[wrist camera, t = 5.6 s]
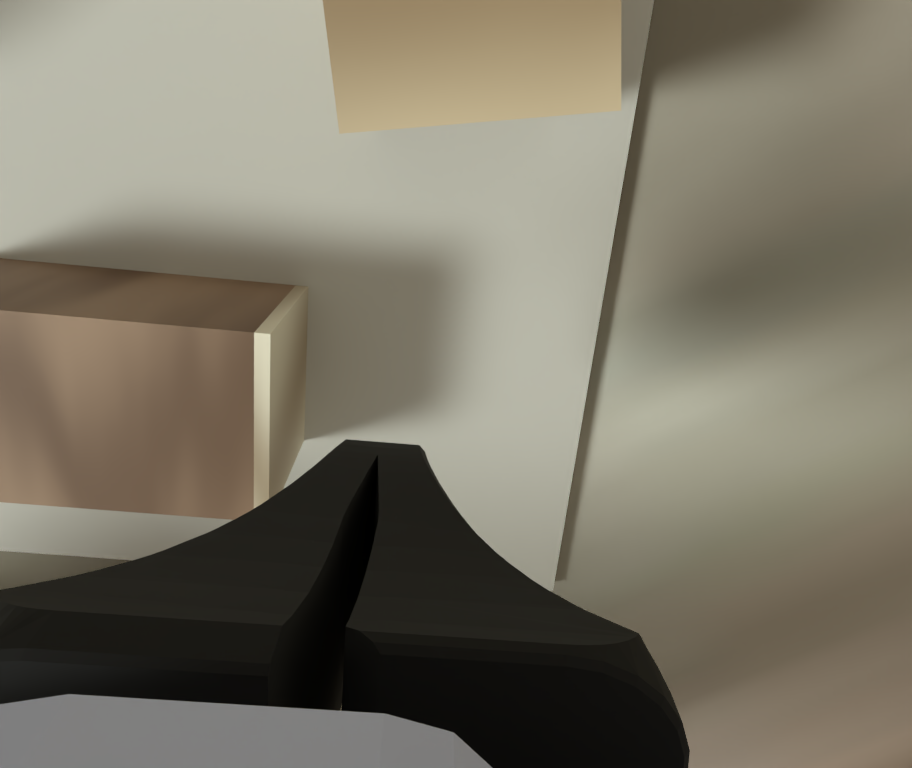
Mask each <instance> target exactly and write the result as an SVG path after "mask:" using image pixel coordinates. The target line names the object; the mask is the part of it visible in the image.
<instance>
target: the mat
mask: <svg viewBox="0 0 912 768" xmlns="http://www.w3.org/2000/svg"><path fill="white" fill-rule="evenodd" d="M653 5H654V0H621V111H610V112H598V113H586V114H574V115H562V116H549V117H537V118H525V119H513V120H501V121H489V122H476V123H464V124H452V125H440V126H428V127H416V128H403V129H391V130H379V131H367V132H355V133H343V134H339V127H338V119H337V111H336V103H335V95H334V87H333V79H332V71H331V63H330V55H329V47H328V39H327V31H326V23H325V15H324V7H323V0H0V258H4V259H15V260H26V261H37V262H47V263H58V264H69V265H80V266H91V267H102V268H113V269H124V270H135V271H145V272H156V273H167V274H178V275H189V276H200V277H211V278H222V279H233V280H243V281H254V282H265V283H276V284H287V285H298V286H308V321H307V357H306V393H305V429H304V442H303V444H302V446H301V449H300V451H299V453H298V456H297V458H296V460H295V463H294V465H293V467H292V470H291V472H290V474H289V476H288V479H287V481H286V483H285V486H284V488H286V487H287V486H289V485H290V484H292V483H293V482H294V481H295V480H297V479H298V478H299V477H301V476H302V475H303V474H304V473H306V472H307V471H308V470H309V469H311V468H312V467H313V466H314V465H315V464H317V463H318V462H319V461H320V460H321V459H323V458H324V457H325V456H326V455H327V454H328V453H329V452H331V451H332V450H333V449H334V448H335V447H337V446H338V445H339V444H340V443H342V442H343V441H344V440H345V439H349V440H361V441H374V442H387V443H400V444H413V445H420V446H421V448H422V449H423V450H424V451H425V453H426V456H427V459H428V462H429V464H430V466H431V468H432V470H433V472H434V474H435V476H436V478H437V480H438V481H439V483H440V485H441V486H442V488H443V489H444V491H445V492H446V494H447V496H448V497H449V499H450V500H451V502H452V503H453V505H454V506H455V507H456V509H457V510H458V512H459V513H460V514H461V515H462V517H463V518H464V519H465V520H466V522H467V523H468V524H469V525H470V527H471V528H472V529H473V530H474V531H475V532H476V534H477V535H478V536H479V537H481V538H482V539H483V540H484V541H485V542H486V543H487V544H488V545H489V546H490V547H491V548H492V549H493V550H494V551H495V552H496V553H497V554H499V555H500V556H501V557H502V558H504V559H505V560H506V561H507V562H508V563H510V564H511V565H512V566H514V567H515V568H517V569H518V570H519V571H521V572H522V573H523V574H525V575H526V576H527V577H529V578H530V579H532V580H533V581H535V582H536V583H538V584H539V585H541V586H542V587H544V588H546V589H547V590H549V591H553V588H554V582H555V576H556V571H557V565H558V559H559V553H560V547H561V541H562V536H563V530H564V524H565V518H566V512H567V506H568V501H569V495H570V489H571V483H572V477H573V471H574V466H575V460H576V454H577V448H578V442H579V437H580V431H581V425H582V419H583V413H584V407H585V402H586V396H587V390H588V384H589V378H590V372H591V367H592V361H593V355H594V349H595V343H596V337H597V332H598V326H599V320H600V314H601V308H602V302H603V297H604V291H605V285H606V279H607V273H608V267H609V262H610V256H611V250H612V244H613V238H614V232H615V227H616V221H617V215H618V209H619V203H620V197H621V192H622V186H623V180H624V174H625V168H626V162H627V157H628V151H629V145H630V139H631V133H632V127H633V122H634V116H635V110H636V104H637V98H638V92H639V87H640V81H641V75H642V69H643V63H644V57H645V52H646V46H647V40H648V34H649V28H650V22H651V17H652V11H653ZM284 488H283V489H284ZM230 521H232V520H228V519H215V518H202V517H189V516H175V515H162V514H149V513H136V512H123V511H109V510H96V509H83V508H70V507H57V506H43V505H30V504H17V503H4V502H0V551H10V552H24V553H38V554H51V555H65V556H79V557H93V558H106V559H120V560H136V559H139V558H142V557H145V556H148V555H152V554H155V553H157V552H160V551H163V550H165V549H168V548H170V547H173V546H175V545H178V544H180V543H183V542H185V541H188V540H190V539H193V538H195V537H198V536H200V535H203V534H205V533H208V532H210V531H212V530H214V529H216V528H219V527H220V526H222V525H224V524H226V523H228V522H230Z"/></svg>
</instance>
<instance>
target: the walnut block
mask: <svg viewBox="0 0 912 768" xmlns="http://www.w3.org/2000/svg"><path fill="white" fill-rule="evenodd" d="M307 321H308V286H298V285H287V284H276V283H265V282H254V281H243V280H233V279H222V278H211V277H200V276H189V275H178V274H167V273H156V272H145V271H135V270H124V269H113V268H102V267H91V266H80V265H69V264H58V263H47V262H37V261H26V260H15V259H4V258H0V502H4V503H17V504H30V505H43V506H57V507H70V508H83V509H96V510H109V511H123V512H136V513H149V514H162V515H175V516H189V517H202V518H215V519H228V520H234V519H236V518H238V517H240V516H242V515H244V514H245V513H247V512H249V511H251V510H252V509H254V508H256V507H257V506H259V505H261V504H262V503H264V502H265V501H267V500H268V499H270V498H271V497H273V496H274V495H276V494H277V493H278V492H280V491H281V490H283V488H284V486H285V483H286V481H287V479H288V476H289V474H290V472H291V470H292V467H293V465H294V463H295V460H296V458H297V456H298V453H299V451H300V449H301V446H302V444H303V442H304V429H305V393H306V357H307Z"/></svg>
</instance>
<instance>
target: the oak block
mask: <svg viewBox="0 0 912 768" xmlns="http://www.w3.org/2000/svg"><path fill="white" fill-rule="evenodd" d="M323 7H324V15H325V23H326V31H327V39H328V47H329V55H330V63H331V71H332V79H333V87H334V95H335V103H336V111H337V119H338V127H339V134H343V133H355V132H367V131H379V130H391V129H403V128H416V127H428V126H440V125H452V124H464V123H476V122H489V121H501V120H513V119H525V118H537V117H549V116H562V115H574V114H586V113H598V112H610V111H621V0H323Z"/></svg>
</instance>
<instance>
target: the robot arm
mask: <svg viewBox="0 0 912 768" xmlns="http://www.w3.org/2000/svg"><path fill="white" fill-rule="evenodd" d="M341 704H342V711H340V708H341ZM689 752H690V750H689V746H688V742H687V739H686V735H685V731H684V727H683V723H682V720H681V718H680V715H679V713H678V710H677V708H676V705H675V702H674V700H673V697H672V695H671V693H670V690H669V688H668V686H667V684H666V682H665V681H664V679H663V677H662V675H661V673H660V671H659V669H658V667H657V665H656V663H655V662H654V660H653V658H652V656H651V655H650V653H649V651H648V649H647V648H646V646H645V644H644V642H643V640H642V638H641V636H640V635H639V633H636V632H634V631H632V630H629V629H627V628H625V627H622V626H620V625H618V624H615V623H613V622H611V621H609V620H606V619H604V618H602V617H599V616H597V615H595V614H592V613H590V612H588V611H585V610H583V609H581V608H579V607H577V606H576V605H574V604H572V603H570V602H568V601H567V600H565V599H563V598H561V597H559V596H558V595H556V594H554V593H552V592H550V591H549V590H547V589H546V588H544V587H542V586H541V585H539V584H538V583H536V582H535V581H533V580H532V579H530V578H529V577H527V576H526V575H525V574H523V573H522V572H521V571H519V570H518V569H517V568H515V567H514V566H512V565H511V564H510V563H508V562H507V561H506V560H505V559H504V558H502V557H501V556H500V555H499V554H497V553H496V552H495V551H494V550H493V549H492V548H491V547H490V546H489V545H488V544H487V543H486V542H485V541H484V540H483V539H482V538H481V537H479V536H478V535H477V534H476V532H475V531H474V530H473V529H472V528H471V527H470V525H469V524H468V523H467V522H466V520H465V519H464V518H463V517H462V515H461V514H460V513H459V512H458V510H457V509H456V507H455V506H454V505H453V503H452V502H451V500H450V499H449V497H448V496H447V494H446V492H445V491H444V489H443V488H442V486H441V485H440V483H439V481H438V480H437V478H436V476H435V474H434V472H433V470H432V468H431V466H430V464H429V462H428V459H427V456H426V453H425V451H424V450H423V449H422V448H421V446H420V445H413V444H400V443H387V442H374V441H361V440H349V439H345V440H344V441H343V442H342V443H340V444H339V445H338V446H337V447H335V448H334V449H333V450H332V451H331V452H329V453H328V454H327V455H326V456H325V457H324V458H323V459H321V460H320V461H319V462H318V463H317V464H315V465H314V466H313V467H312V468H311V469H309V470H308V471H307V472H306V473H304V474H303V475H302V476H301V477H299V478H298V479H297V480H295V481H294V482H293V483H292V484H290V485H289V486H287V487H286V488H284V489H283V490H281V491H280V492H278V493H277V494H276V495H274V496H273V497H271V498H270V499H268V500H267V501H265V502H264V503H262V504H261V505H259V506H257V507H256V508H254V509H252V510H251V511H249V512H247V513H245V514H244V515H242V516H240V517H238V518H236V519H234V520H232V521H230V522H228V523H226V524H224V525H222V526H220V527H219V528H216V529H214V530H212V531H210V532H208V533H205V534H203V535H200V536H198V537H195V538H193V539H190V540H188V541H185V542H183V543H180V544H178V545H175V546H173V547H170V548H168V549H165V550H163V551H160V552H157V553H155V554H152V555H148V556H145V557H142V558H139V559H136V560H133V561H130V562H126V563H123V564H119V565H115V566H112V567H108V568H104V569H101V570H97V571H93V572H89V573H85V574H81V575H76V576H71V577H66V578H61V579H56V580H51V581H46V582H41V583H36V584H31V585H25V586H20V587H15V588H9V589H3V590H0V768H688V762H689Z"/></svg>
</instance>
